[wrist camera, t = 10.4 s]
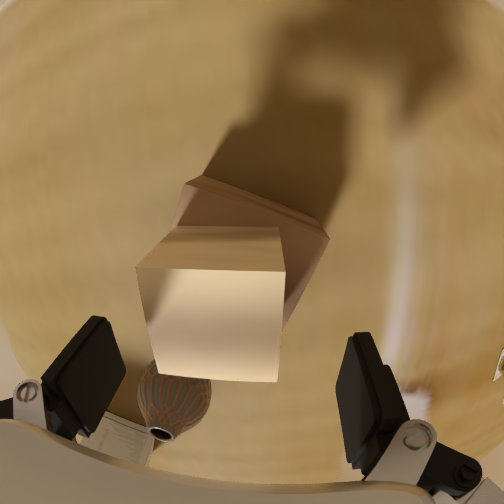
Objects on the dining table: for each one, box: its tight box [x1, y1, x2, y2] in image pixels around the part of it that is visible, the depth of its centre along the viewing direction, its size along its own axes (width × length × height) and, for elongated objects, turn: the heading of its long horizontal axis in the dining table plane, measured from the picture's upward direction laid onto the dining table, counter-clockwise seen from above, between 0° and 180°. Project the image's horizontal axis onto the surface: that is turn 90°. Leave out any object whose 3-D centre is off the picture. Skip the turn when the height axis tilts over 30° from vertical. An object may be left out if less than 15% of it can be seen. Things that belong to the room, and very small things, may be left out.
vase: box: [137, 359, 212, 442], centre depth 23 cm, size 7×7×9 cm
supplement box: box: [80, 411, 155, 467], centre depth 26 cm, size 10×9×17 cm
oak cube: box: [136, 226, 286, 382], centre depth 15 cm, size 6×6×6 cm
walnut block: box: [170, 175, 330, 333], centre depth 20 cm, size 9×9×5 cm
